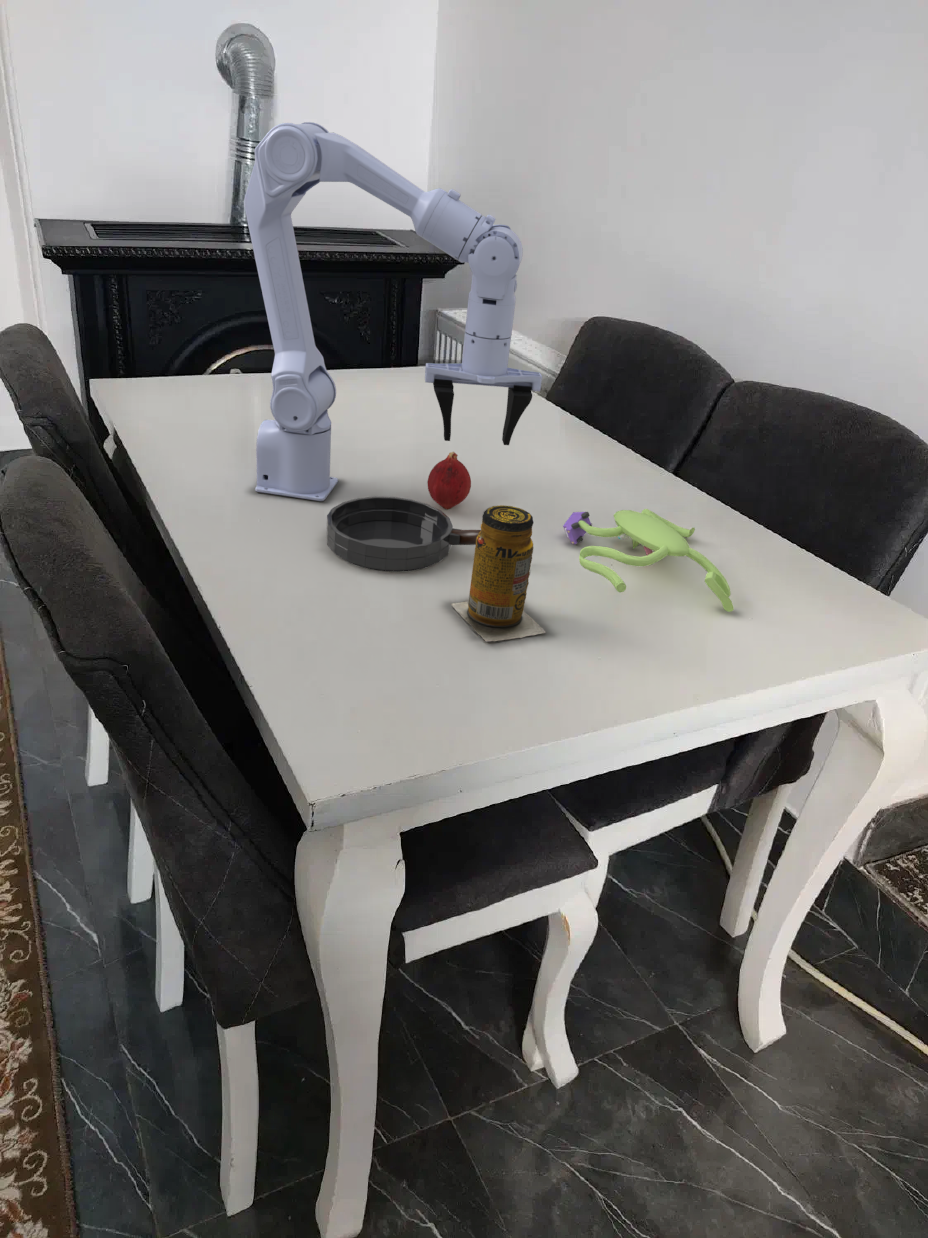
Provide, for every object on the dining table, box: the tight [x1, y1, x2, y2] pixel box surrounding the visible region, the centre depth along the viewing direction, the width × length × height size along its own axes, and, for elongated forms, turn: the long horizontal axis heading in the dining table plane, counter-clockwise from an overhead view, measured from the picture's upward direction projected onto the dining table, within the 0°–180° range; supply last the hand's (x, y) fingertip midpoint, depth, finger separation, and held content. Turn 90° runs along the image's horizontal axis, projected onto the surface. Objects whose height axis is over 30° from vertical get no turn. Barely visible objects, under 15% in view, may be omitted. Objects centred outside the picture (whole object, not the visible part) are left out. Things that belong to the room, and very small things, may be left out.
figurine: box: [562, 508, 735, 613], centre depth 113 cm, size 18×27×6 cm
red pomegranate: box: [426, 451, 472, 510], centre depth 122 cm, size 6×6×8 cm
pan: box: [326, 495, 454, 573], centre depth 112 cm, size 15×15×3 cm
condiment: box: [450, 504, 547, 643], centre depth 96 cm, size 7×8×12 cm
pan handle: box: [449, 527, 481, 546], centre depth 110 cm, size 10×2×3 cm, turn 82°
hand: (476, 440), depth 119 cm, fingers open, 7 cm apart
